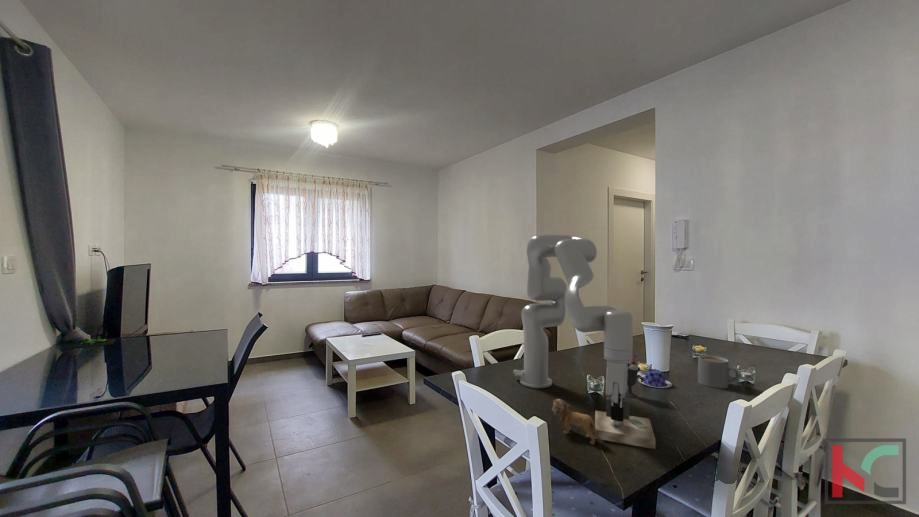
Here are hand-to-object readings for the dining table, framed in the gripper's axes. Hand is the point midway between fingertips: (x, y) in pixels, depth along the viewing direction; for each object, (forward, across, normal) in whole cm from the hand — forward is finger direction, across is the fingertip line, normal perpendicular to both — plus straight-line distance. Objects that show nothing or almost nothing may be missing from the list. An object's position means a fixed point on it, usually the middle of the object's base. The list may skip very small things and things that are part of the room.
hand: (617, 417), depth 103 cm
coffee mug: (+5, -61, +31) cm, 69 cm away
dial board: (+5, -2, +1) cm, 5 cm away
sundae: (+5, -33, +1) cm, 33 cm away
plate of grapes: (+5, -51, +9) cm, 52 cm away
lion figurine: (+5, +6, -10) cm, 13 cm away
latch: (+2, -3, 0) cm, 4 cm away
